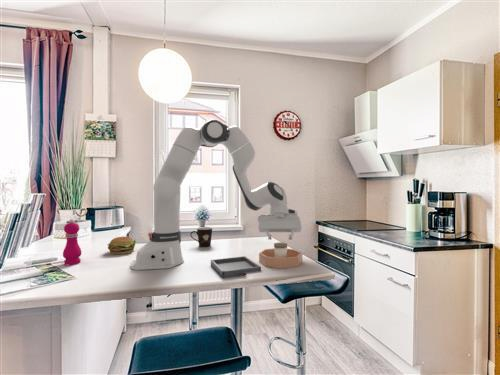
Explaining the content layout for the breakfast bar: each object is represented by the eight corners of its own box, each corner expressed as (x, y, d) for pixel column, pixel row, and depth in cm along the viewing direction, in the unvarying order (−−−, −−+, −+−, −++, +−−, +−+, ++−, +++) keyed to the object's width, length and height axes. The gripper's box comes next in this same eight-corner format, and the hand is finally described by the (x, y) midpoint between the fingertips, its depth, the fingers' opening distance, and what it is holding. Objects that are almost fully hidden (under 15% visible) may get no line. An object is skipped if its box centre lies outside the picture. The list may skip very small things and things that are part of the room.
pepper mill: (59, 264, 131) (58, 220, 130) (73, 260, 138) (73, 218, 137) (71, 266, 128) (70, 220, 128) (85, 261, 135) (84, 218, 135)
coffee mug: (213, 244, 171) (213, 227, 170) (210, 247, 162) (210, 229, 162) (194, 244, 172) (194, 227, 172) (190, 247, 163) (189, 229, 163)
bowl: (271, 272, 118) (271, 260, 118) (254, 261, 134) (254, 250, 134) (308, 267, 124) (308, 255, 124) (288, 257, 141) (288, 247, 141)
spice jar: (277, 264, 125) (277, 245, 125) (271, 261, 131) (271, 243, 131) (289, 262, 128) (289, 244, 127) (283, 259, 133) (283, 242, 133)
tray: (222, 278, 111) (222, 271, 111) (210, 265, 128) (210, 259, 128) (261, 273, 117) (260, 266, 117) (245, 261, 134) (245, 256, 134)
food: (103, 256, 145) (103, 240, 145) (111, 249, 159) (111, 235, 159) (133, 254, 148) (132, 239, 148) (138, 248, 162) (137, 234, 161)
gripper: (257, 211, 142) (257, 234, 133) (300, 210, 141) (302, 234, 132) (258, 219, 147) (257, 242, 137) (299, 218, 146) (301, 242, 136)
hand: (280, 238), depth 134 cm, fingers open, 8 cm apart
